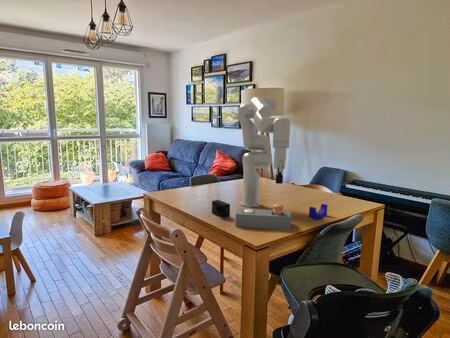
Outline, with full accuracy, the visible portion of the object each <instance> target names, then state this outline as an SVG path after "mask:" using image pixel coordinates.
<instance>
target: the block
mask: <svg viewBox="0 0 450 338" xmlns="http://www.w3.org/2000/svg"><path fill="white" fill-rule="evenodd" d="M246 209H247V208H241V207H237V208H236V212H235V224H234V227H243V228H257V229H258V228H259V229H273V230H274V229H275V230H290V231H291V228H292V215H291V212H290V210H283V211H282V215H273V209H258V208H249V209H250V210H254V214H250V213H244V210H246Z"/></svg>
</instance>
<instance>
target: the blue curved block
mask: <svg viewBox="0 0 450 338" xmlns="http://www.w3.org/2000/svg"><path fill="white" fill-rule="evenodd" d="M328 206H329V205H328V204H326V203H321V204H320V208H319V210H318V211H317V208H316V207H314V206H310V207H309V209H308V219H311V218H312V219H311V220H314V219H315V220H314V221H317V219H318V220H320V219H321V220H322V219H323V218H324V217H325V215H326V216H328Z"/></svg>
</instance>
